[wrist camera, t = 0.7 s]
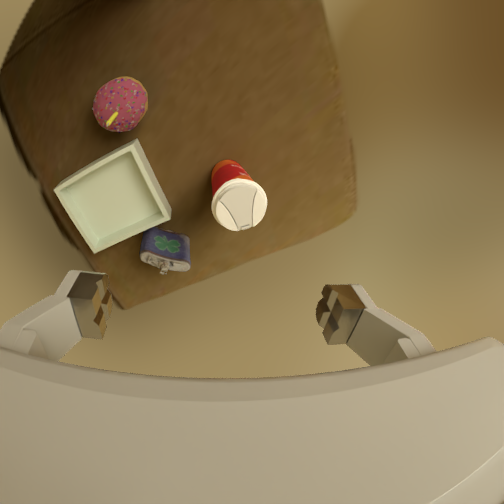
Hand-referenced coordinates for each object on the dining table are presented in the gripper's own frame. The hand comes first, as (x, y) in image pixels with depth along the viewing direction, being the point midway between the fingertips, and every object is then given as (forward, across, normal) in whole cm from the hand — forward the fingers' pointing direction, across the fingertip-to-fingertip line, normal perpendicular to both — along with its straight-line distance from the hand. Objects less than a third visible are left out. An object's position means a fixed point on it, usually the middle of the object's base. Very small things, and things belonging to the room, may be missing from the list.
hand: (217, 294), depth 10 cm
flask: (+41, +7, +18) cm, 46 cm away
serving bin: (+39, +17, +10) cm, 44 cm away
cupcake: (+38, +15, -7) cm, 41 cm away
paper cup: (+41, -4, +6) cm, 41 cm away
